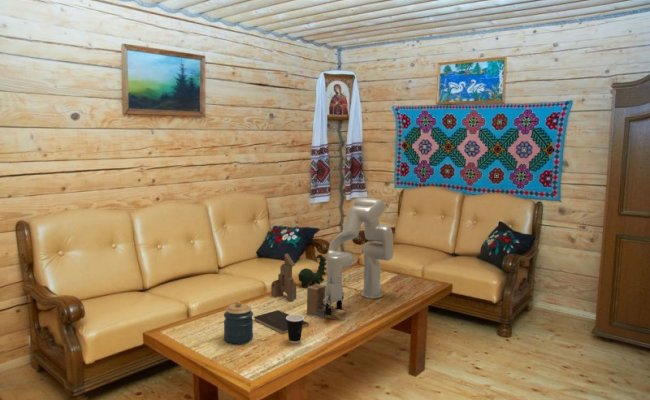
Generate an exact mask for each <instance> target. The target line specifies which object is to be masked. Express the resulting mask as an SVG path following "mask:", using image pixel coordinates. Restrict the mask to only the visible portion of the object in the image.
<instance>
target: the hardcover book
mask: <svg viewBox="0 0 650 400" xmlns="http://www.w3.org/2000/svg"><path fill="white" fill-rule="evenodd" d="M289 315H290V314H288V313H286V312H283V311H282V310H279V309H277V310H273V311H270V312H267V313H263V314H259V315H256V316H255V315H254V316H253V318H254V321H255V322H257V323H258V324H260V325H261V324H262V325H264V326H265V327H267V328H270V329H272V330H274V331H277V332H278V333H279V334H280V333H281V334H282V335H283V334H288V328H287V319H286V317H287V316H289ZM308 326H309V322H307V321H305V320H303V325H302V329H303V328H306V327H308Z"/></svg>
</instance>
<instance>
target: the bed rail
mask: <svg viewBox="0 0 650 400" xmlns="http://www.w3.org/2000/svg"><path fill="white" fill-rule="evenodd" d="M330 308H331V315H330V316H329V315H326V314H325V318H329V319H332V320H336V321H340V322H344V321H346V320H347V319H346V318H347V311H346V310H343V309H342V310H340V309H336V307H334V308H332V307H330ZM321 309H322V310H325V305H322V306H321Z"/></svg>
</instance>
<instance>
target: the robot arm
mask: <svg viewBox="0 0 650 400" xmlns="http://www.w3.org/2000/svg"><path fill="white" fill-rule="evenodd" d="M353 204H354V205H352V206H351V207H350V208H349V210H348V212H347V216H346V218H345V221H344V225H343V229H342V231H340V233H339V234H337V235H336V236H335V237H334V239H332V240H331V242H330V243H329V246H328V250H327V251H326V252H327V253H326V263H327V264H326V284H325V286H326V288H325V299H324V300H323V302H324V305H325V314H326V315H329V316H330V315H331V308H330V307H331V306H333V305H332V304H335V303H336V305H335V306H336V307H335V308H336V309H340V310H343V301H344V298H345V292H344V291H343V269H346V268H347V269H348V268H350V267H352V266H353V265H354V263H355V257H354V255H353V254H352V253H350V252H345V251H341V250H339V251H338V249H339V247H340V246H341V245H343V244H344V243H345V242H348V241H351V240H354V239H356V238H358V237H359V234H360V230H361V227H362V224H363V228H364V229H363V231H364V237H365V240H368V241H367V242H364V245H363V247H362V252H363V253H362V255H363V260H364V261H363V264H364V265H363V266H364V267H363V291H360V296H361V297H363V298H366V299H372V300H373V299H379V298H382V297H383V293H382V292H381V290H382V289H383V288H384V287H383V286H382V285H381V275H382V274H381V272H382V271H381V268H382V265H381V261H390V260H392V259H393V257H394V233H393V230H392V228H391V227H390V226H389V225H385V224H380V219H379V217H381V216H382V215H383V214H384V212H385V209H386V204H385V202H384V200H382V199H379V198H370V197H357V198H355V199H354V202H353ZM380 260H381V261H380ZM330 301H331V302H330Z"/></svg>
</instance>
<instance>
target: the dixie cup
mask: <svg viewBox="0 0 650 400" xmlns="http://www.w3.org/2000/svg"><path fill="white" fill-rule="evenodd" d="M304 318H305V317H304V316H303V315H300V314H289V316H287V317H286V319H287V328H288V332H287V336H288V340H289V342H288V343H290V344H299V343H300V342H301V340H302V339H301V338H302V331H303V328H302V325H303V321H304Z"/></svg>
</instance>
